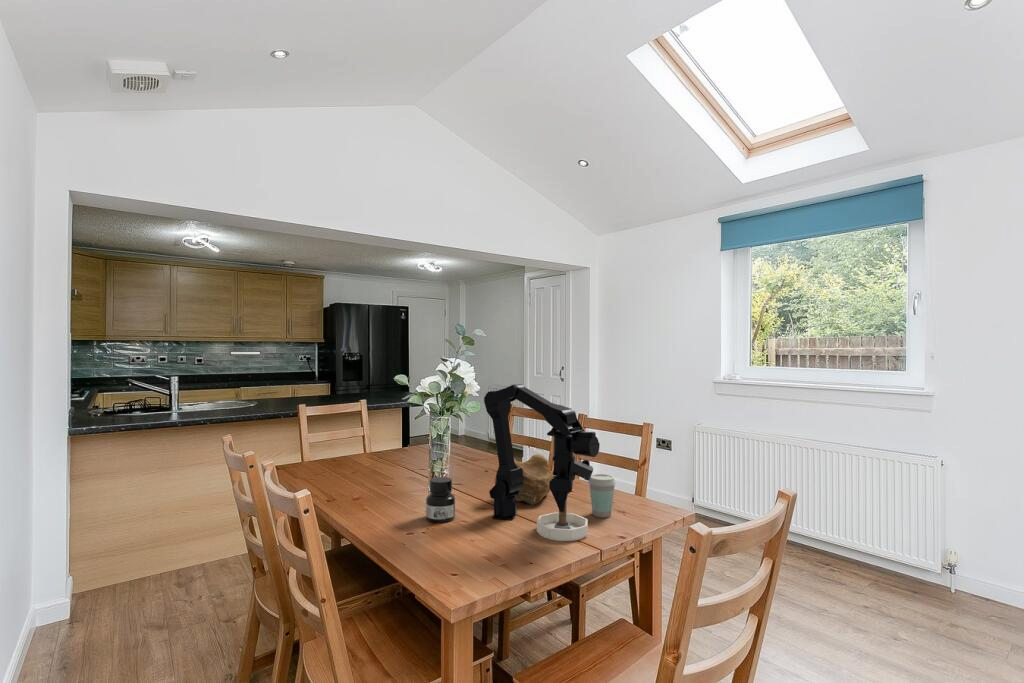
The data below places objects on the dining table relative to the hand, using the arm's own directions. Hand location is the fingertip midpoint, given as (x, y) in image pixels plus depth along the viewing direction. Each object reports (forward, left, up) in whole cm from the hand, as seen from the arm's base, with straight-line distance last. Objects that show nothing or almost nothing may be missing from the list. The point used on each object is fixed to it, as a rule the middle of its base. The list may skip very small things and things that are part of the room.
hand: (563, 506), depth 147 cm
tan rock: (-14, +29, -8) cm, 33 cm away
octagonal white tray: (0, 0, -7) cm, 7 cm away
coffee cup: (+11, +18, -8) cm, 22 cm away
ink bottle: (-38, +4, -8) cm, 39 cm away
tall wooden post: (0, 0, -6) cm, 7 cm away
